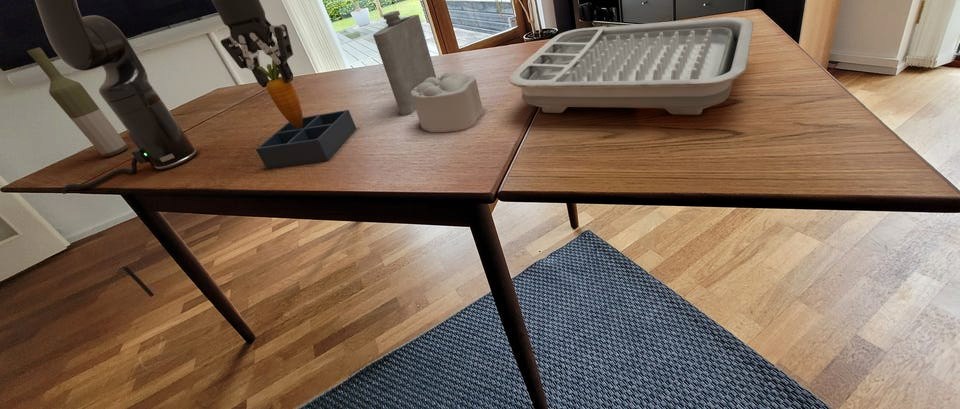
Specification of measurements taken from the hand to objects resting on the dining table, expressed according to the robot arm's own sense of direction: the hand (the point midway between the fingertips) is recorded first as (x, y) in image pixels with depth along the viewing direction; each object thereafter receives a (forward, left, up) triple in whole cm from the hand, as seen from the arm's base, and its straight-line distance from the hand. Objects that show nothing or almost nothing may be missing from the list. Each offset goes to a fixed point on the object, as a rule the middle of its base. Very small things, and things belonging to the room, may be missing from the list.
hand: (277, 83), depth 84 cm
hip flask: (+22, +15, -14) cm, 31 cm away
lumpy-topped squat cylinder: (+33, 0, -14) cm, 36 cm away
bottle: (-73, +13, -14) cm, 75 cm away
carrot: (0, 0, -11) cm, 11 cm away
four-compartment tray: (+3, -4, -14) cm, 15 cm away
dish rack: (+68, +2, -14) cm, 70 cm away
